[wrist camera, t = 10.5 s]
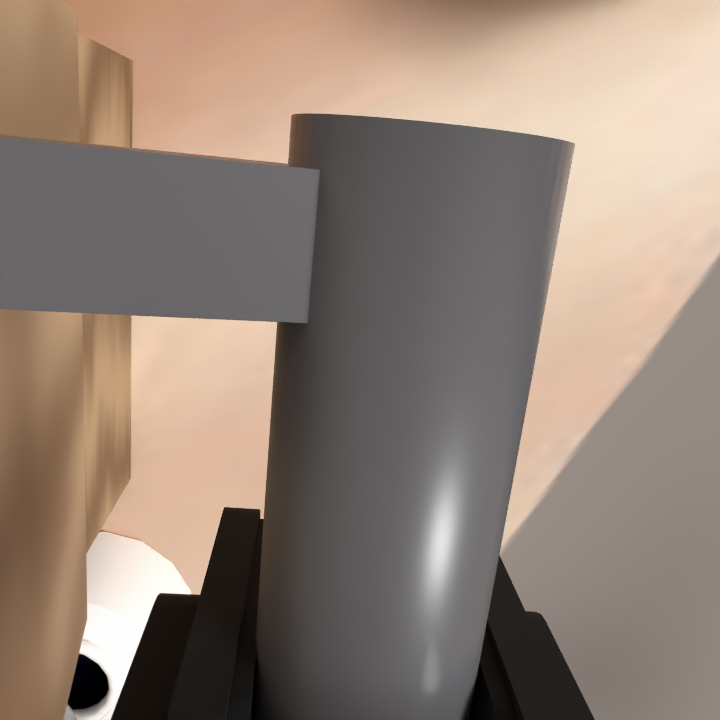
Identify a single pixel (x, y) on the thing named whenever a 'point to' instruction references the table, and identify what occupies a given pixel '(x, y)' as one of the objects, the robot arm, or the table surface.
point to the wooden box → (105, 331)
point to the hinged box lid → (281, 373)
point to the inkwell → (116, 619)
